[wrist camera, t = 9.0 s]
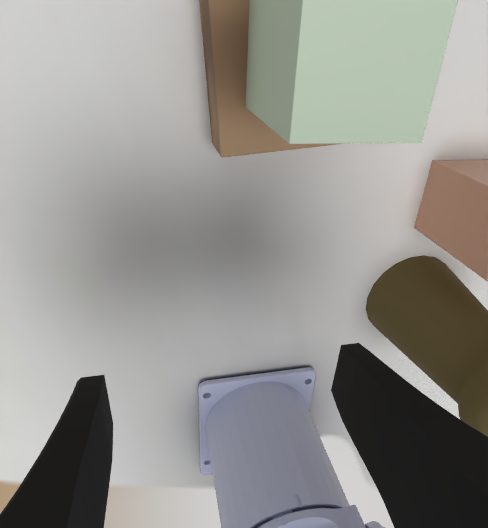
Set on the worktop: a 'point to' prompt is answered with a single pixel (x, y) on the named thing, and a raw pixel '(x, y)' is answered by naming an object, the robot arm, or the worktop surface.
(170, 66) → the worktop surface
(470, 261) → the terracotta block
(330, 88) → the sage block
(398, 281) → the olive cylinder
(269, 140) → the walnut board
